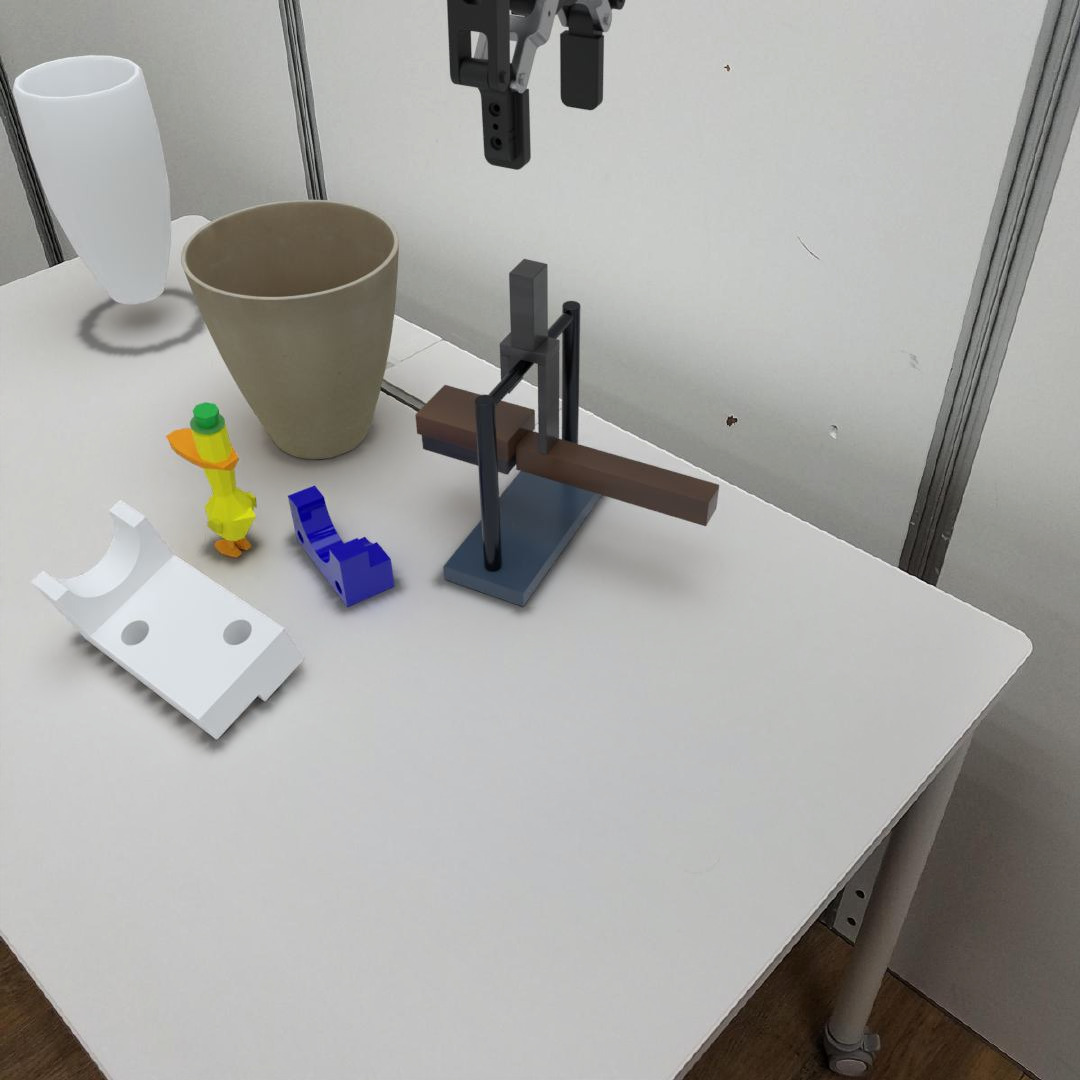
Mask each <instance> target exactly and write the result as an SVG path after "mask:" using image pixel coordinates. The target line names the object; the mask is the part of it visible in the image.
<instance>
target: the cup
mask: <svg viewBox="0 0 1080 1080" xmlns="http://www.w3.org/2000/svg"><path fill="white" fill-rule="evenodd" d="M12 94H13V98H14V100H15V105H16V107H17V111H18V115H19V119H20V122H21V126H22V130H23V133H24V136H25V140H26V143H27V148H28V150H29V153H30V157H31V159H32V162H33V165H34V167H35V171H36V172H37V176H38V178H39V180H40V183H41V186H42V188H43V191H44V193H45V196H46V199H47V201H48V205H49V207H50V209H51V211H52V213H53V214H54V216H55V218H56V220H57V221H58V223H59V225H60V226H61V229H62V230H63V232H64V234H65V236H66V237H67V239H68V241H69V243H70V244H71V246H72V248H73V250H74V252H75V253H76V255H77V256H78V257H79V259H80V260H81V262H82V264H84V266H85V267H86V269H87V270H88V271H89V272H90V274H91V275H92V277H93V278H94V280H95V281H96V282H97V283H98V284H99V285H100V287H102V289H103V291H105V292H106V293H107V294H108V295H109V297H111V299H112V300H113V301H114V302H116V303H119V304H121V305H138V304H144V303H147V302H150V301H153V300H155V299H156V298H158V297H159V296H161V295H162V293H163V292H164V291H165V289H166V283H167V280H168V279H167V278H168V274H169V267H170V258H171V246H172V221H171V219H172V218H171V217H172V216H171V194H170V193H171V190H170V181H169V176H168V171H167V164H166V161H165V154H164V150H163V145H162V139H161V135H160V129H159V125H158V122H157V118H156V115H155V111H154V108H153V104H152V99H151V97H150V93H149V90H148V87H147V82H146V79H145V76H144V72H143V69H142V68H141V67H140V65H138V64H137V63H135V62H134V61H132V60H130V59H129V58H123V57H119V56H114V55H98V54H97V55H95V54H90V55H79V56H68V57H64V58H58V59H55V60H51V61H46V62H42V63H40V64H38V65H36V66H33V67H31V68H28V69H26V70H25V71H23V72H22V73H20V74H19V75H18V76H16V77H15V79H14V81H13V87H12Z"/></svg>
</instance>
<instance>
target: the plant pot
mask: <svg viewBox="0 0 1080 1080" xmlns="http://www.w3.org/2000/svg"><path fill="white" fill-rule="evenodd" d="M394 226H395V225H393V224H392V223H391V222H390V221H389V220H388V219H387V218H386V217H384V216H383V215H381V214H380V213H377V212H376V211H373V210H372V209H369V208H367V207H364V206H361V205H357V204H353V203H349V202H343V201H337V200H327V199H290V200H281V201H272V202H268V203H261V204H257V205H253V206H248V207H244V208H241V209H238V210H236V211H235V210H234V211H233V212H229V213H227V214H225V215H222V216H220V217H217V218H215V219H214V220H211V221H210V222H208V223H206V224H205V225H203V226H201V227H200V228H198V229H197V230H196V231H195V232H194V233H193V234H192V235H191V236H190V237H189V238H188V239H187V240H186V242H185V243H184V245H183V246H182V250H181V252H180V263H181V266H182V269H183V272H184V274H185V277H186V280H187V282H188V285H189V287H190V289H191V292H192V295H193V297H194V299H195V302H196V304H197V307H198V309H199V312H200V314H201V316H202V318H203V321H204V323H205V326H206V328H207V330H208V332H209V334H210V337H211V338H212V341H213V343H214V345H215V347H216V349H217V351H218V353H219V356H220V357H221V358H222V361H223V362H224V364H225V366H226V368H227V370H228V372H229V374H230V375H231V377H232V379H233V381H234V382H235V384H236V386H237V388H238V390H239V391H240V392H241V394H242V396H243V397H244V400H245V401H246V402H247V404H248V405H249V407H250V408H251V410H252V412H253V414H254V415H255V417H256V418H257V419H258V421H259V422H260V424H261V425H262V427H263V429H264V430H265V431H266V432H267V434H268V436H270V439H272V441H273V442H274V443H275V445H276V446H277V447H278V448H279V449H281V451H282V452H284V453H286V454H287V455H290V456H292V457H296V458H299V459H305V460H322V459H324V460H325V459H331V458H334V457H338V456H341V455H343V454H347V453H348V452H350V451H352V450H354V449H355V448H356V447H358V446H359V445H360V444H361V443H362V442H363V441H364V440H365V439H366V437H367V435H368V432H369V430H370V427H371V425H372V424H371V423H372V420H373V417H374V414H375V411H376V408H377V404H378V400H379V397H380V393H381V389H382V386H383V381H384V376H385V373H386V368H387V364H388V363H387V362H388V357H389V353H390V348H391V347H390V346H391V342H392V334H393V327H394V319H395V311H396V303H397V288H398V275H399V273H398V272H399V251H400V237H399V233H398V231H397V229H396V227H394Z"/></svg>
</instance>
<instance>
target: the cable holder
mask: <svg viewBox="0 0 1080 1080" xmlns="http://www.w3.org/2000/svg"><path fill="white" fill-rule="evenodd" d="M287 499H288V504H289V510H290V513H291V519H292V523H293V528H294V533H295V537H296V541H297V542H298V544H299V545H300V546H301V548H302V549H303V550H304V552H305V553H306V554H307V555H308V557H309V558H310V560H311V561H312V562H313V563H314V565H315V566H316V567H317V569H318V570H319V571H320V573H321V574H322V575H323V577H324V578H325V580H326V581H327V582H328V583H329V585H330V586H331V587H332V589H333V590H334V591H335V593H336V594H337V595H338V597H339V598H340V600H341V601H342V602H343V604H344V605H345V607H346V608H349V607H351V606H353V605H355V604H358V603H360V602H362V601H365V600H367V599H369V598H371V597H373V596H375V595H376V596H377V595H378V594H381V593H383V592H385V591H387V590H390V589H393V588H394V587H395V580H394V579H395V578H394V572H393V565H392V564H393V563H392V558H391V557H390V556H389V555H388V553H387V552H386V551H385V550H384V549H383V547H382V546H381V545H380V544H379V543H378V541H377V542H374V543H373V542H371V541H370V540H369V539H367V537H366V536H363V537H361V538H358V537H356V538H353V539H351V540H349V541H346V542H344V541H343V540H342V538H341V537H340V535H339V533H338V532H337V529H336V527H335V525H334V523H333V520H332V518H331V516H330V513H329V511H328V510H329V509H328V507H327V504H326V498H325V496H324V495H323V494H322V492H321V491H320V489H318V487H317V486H316V485H315V484H314V485H312V486H309V487H307V488H304V489H301V490H298V491H295V492H294V493H291V494H289V495H287Z"/></svg>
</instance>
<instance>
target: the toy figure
mask: <svg viewBox="0 0 1080 1080" xmlns="http://www.w3.org/2000/svg"><path fill="white" fill-rule="evenodd" d="M192 414H193V417H192V418H191V419H190V421H189V426H190V428H189V427H188V428H180V429H174V430H172V431H171V432H170V433H168V434H167V435H165V438H166V439H167V441H168V443H169V446H170V449H172V450H173V452H174V453H175V454H177V455H178V456H179V457H181V458H182V459H184V460H185V461H187V462H189V463H191V464H192V465H195V466H197V467H199V468H201V469H202V471H203V473H204V475H205V478H206V479H207V481H208V484H209V486H210V488H211V490H212V493H211V495H210V497H209V498H208V501H207V502H206V504H205V505H204V510H205V514H206V517H207V523H206V526H207V527H208V528H209V529H210V530H211V531H212V532H214V533H215V534H216V535H217V536H219V537H220V538H222V539H217V540H216V541H215V543H214V544H213V545H214V547H215V549H216V550H217V551H218V552H219V554H222V555H224V556H228V557H232V558H235V559H238V558H239V557H240V556H241V555H242V554H243V553H242V551H243V550H244V551H248V550H249V549H251V548H252V544H251V543H250V541H249V540H248V539H247V538H246V535H247V534H248V532H249V531H250V529H251V527H252V525H253V523H254V521H255V519H256V517H257V515H256V513H255V511H254V509H255V508H258V507H257V505H258V504H257V496H256V495H254V494H253V493H252V492H250V491H249V490H248V491H246V492H245V490H242V489H241V488H239V487H238V486H237V483H236V471H235V468H236V466H237V464H238V462H239V460H240V457H239V455H238V454H237V452H236V450H235V449H234V447H233V445H232V444H231V440H230V436H229V432H228V429H227V425H226V420H225V417H224V416H223V415H222V414H220V408H219V407H218V406H217V404H216V403H214V402H213V403H212V402H206V401H205V402H202V403H199V404H196V405H195V406H194V407H193V409H192ZM241 550H242V551H241Z"/></svg>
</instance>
